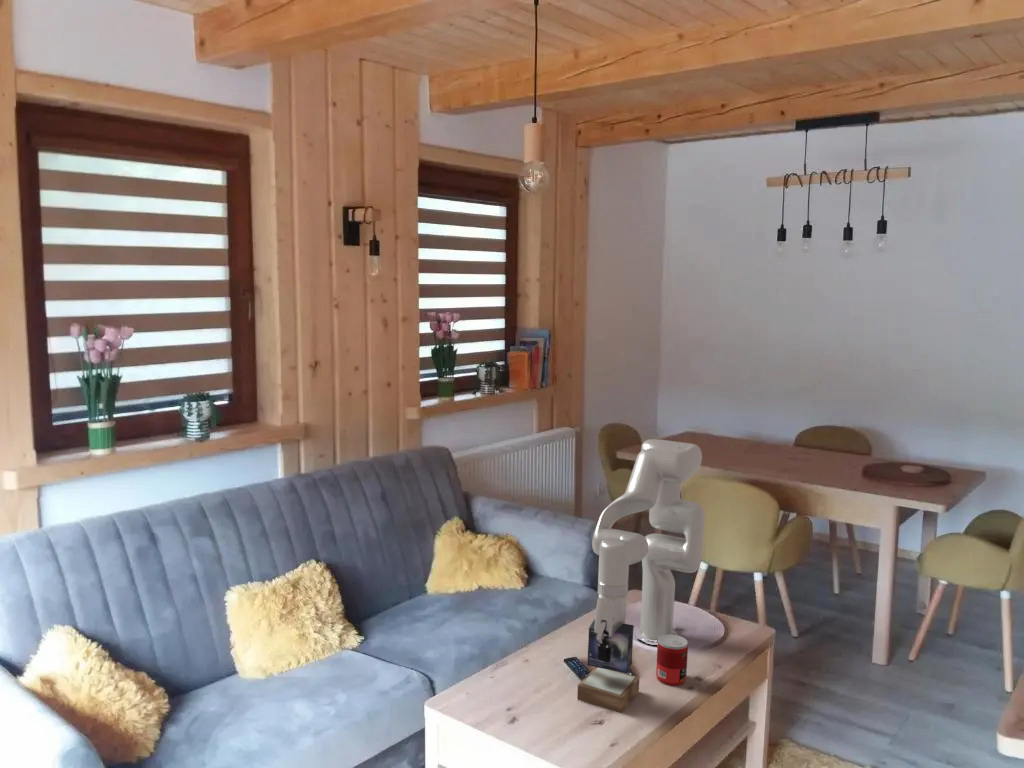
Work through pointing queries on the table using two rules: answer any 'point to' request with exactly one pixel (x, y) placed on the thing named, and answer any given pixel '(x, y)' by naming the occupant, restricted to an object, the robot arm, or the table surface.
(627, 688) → the wooden box
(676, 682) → the canned food
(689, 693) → the table surface
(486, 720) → the table surface
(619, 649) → the small box
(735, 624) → the table surface
